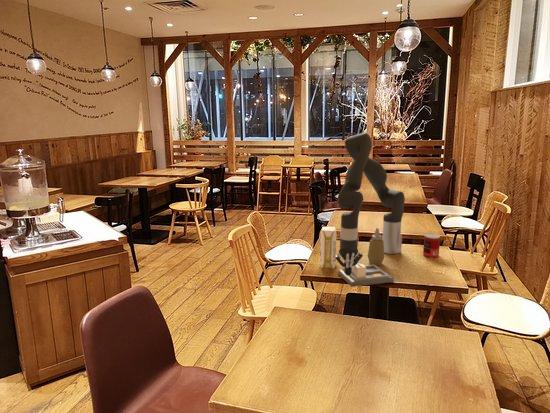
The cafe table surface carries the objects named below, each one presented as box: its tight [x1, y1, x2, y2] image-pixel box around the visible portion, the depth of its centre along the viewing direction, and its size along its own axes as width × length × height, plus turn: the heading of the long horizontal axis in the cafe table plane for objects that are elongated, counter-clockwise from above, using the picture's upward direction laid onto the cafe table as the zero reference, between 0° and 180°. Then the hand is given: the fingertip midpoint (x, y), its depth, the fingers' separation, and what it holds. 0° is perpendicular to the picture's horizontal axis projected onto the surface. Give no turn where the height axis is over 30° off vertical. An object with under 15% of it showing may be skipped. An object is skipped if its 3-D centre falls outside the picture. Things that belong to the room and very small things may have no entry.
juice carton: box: [319, 226, 337, 270], centre depth 201 cm, size 8×9×19 cm
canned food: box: [422, 233, 441, 259], centre depth 215 cm, size 8×8×11 cm
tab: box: [353, 262, 366, 278], centre depth 183 cm, size 4×4×6 cm
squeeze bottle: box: [367, 227, 385, 266], centre depth 204 cm, size 8×8×18 cm
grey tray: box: [337, 264, 395, 288], centre depth 188 cm, size 20×15×3 cm
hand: (347, 274), depth 182 cm, fingers closed
